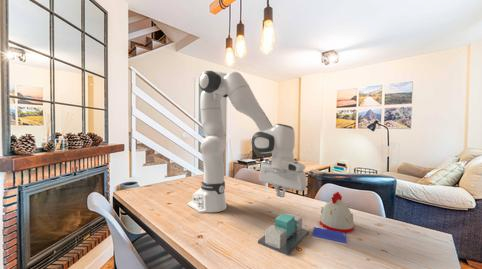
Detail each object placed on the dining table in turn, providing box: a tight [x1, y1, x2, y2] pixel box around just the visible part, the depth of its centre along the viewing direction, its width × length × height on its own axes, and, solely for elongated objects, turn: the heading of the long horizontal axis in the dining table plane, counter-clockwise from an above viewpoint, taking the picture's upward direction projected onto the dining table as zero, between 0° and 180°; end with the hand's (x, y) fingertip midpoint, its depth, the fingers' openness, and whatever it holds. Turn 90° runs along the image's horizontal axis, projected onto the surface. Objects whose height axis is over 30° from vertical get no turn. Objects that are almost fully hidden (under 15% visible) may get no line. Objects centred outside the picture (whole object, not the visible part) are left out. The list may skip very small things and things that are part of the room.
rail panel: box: [257, 213, 310, 256], centre depth 81 cm, size 12×20×6 cm, turn 142°
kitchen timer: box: [319, 191, 355, 234], centre depth 93 cm, size 14×14×15 cm
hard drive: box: [311, 226, 348, 246], centre depth 83 cm, size 2×8×12 cm
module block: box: [274, 212, 295, 238], centre depth 81 cm, size 5×7×6 cm
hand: (280, 196), depth 86 cm, fingers closed
